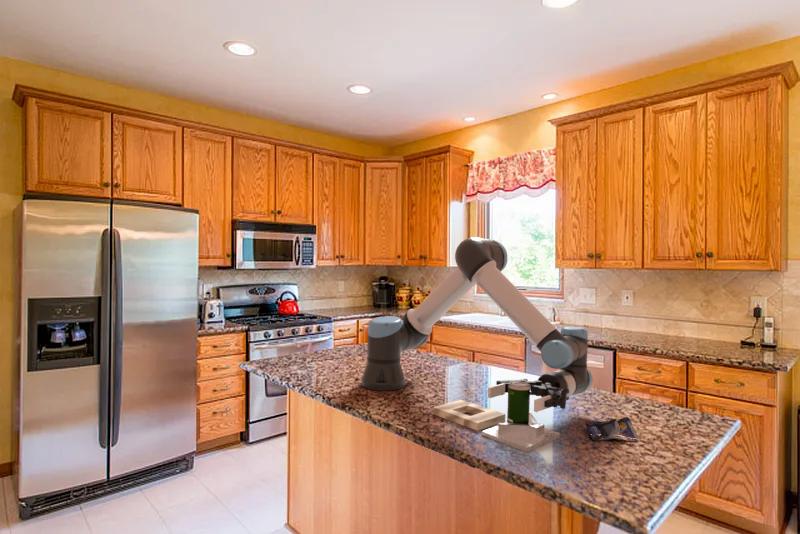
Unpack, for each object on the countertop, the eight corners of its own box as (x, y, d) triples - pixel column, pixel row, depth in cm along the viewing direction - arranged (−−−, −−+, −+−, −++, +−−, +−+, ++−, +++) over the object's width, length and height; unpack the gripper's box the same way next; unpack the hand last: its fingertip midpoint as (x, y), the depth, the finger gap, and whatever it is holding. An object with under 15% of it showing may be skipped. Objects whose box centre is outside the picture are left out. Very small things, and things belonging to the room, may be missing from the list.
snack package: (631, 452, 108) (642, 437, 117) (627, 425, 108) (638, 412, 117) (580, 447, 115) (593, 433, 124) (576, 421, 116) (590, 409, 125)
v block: (481, 435, 115) (482, 419, 115) (516, 422, 125) (516, 408, 125) (526, 452, 105) (527, 434, 105) (560, 437, 115) (560, 421, 115)
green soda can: (518, 436, 112) (519, 387, 112) (502, 429, 117) (503, 382, 117) (533, 432, 115) (534, 384, 115) (516, 425, 120) (518, 380, 120)
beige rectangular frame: (432, 414, 130) (433, 407, 130) (460, 406, 138) (460, 399, 138) (477, 430, 118) (477, 423, 118) (505, 421, 126) (505, 413, 126)
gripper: (599, 410, 118) (556, 428, 104) (516, 389, 137) (471, 401, 123) (600, 381, 118) (557, 395, 104) (517, 364, 137) (472, 373, 123)
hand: (511, 399), depth 114 cm, fingers open, 13 cm apart
